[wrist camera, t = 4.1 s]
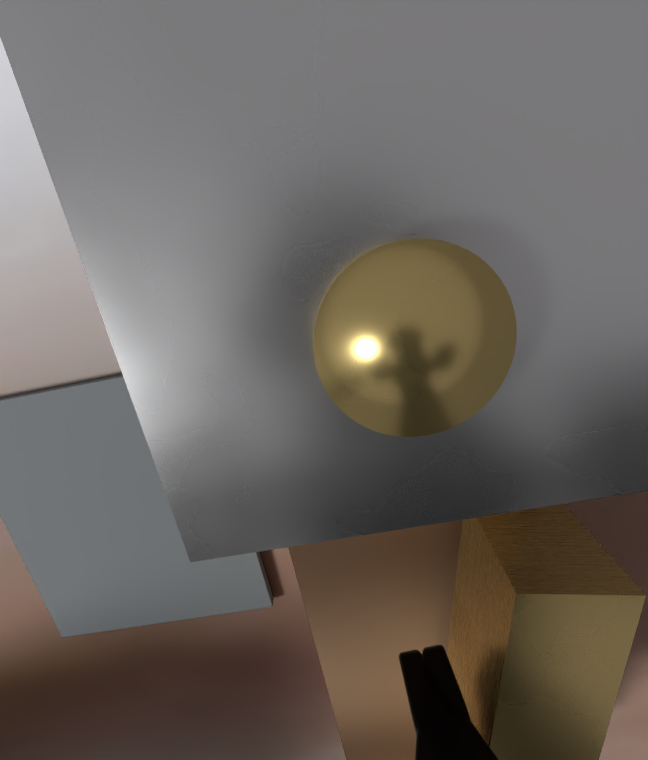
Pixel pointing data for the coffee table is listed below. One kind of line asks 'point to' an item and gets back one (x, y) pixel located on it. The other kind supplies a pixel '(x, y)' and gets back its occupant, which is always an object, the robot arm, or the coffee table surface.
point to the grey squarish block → (358, 249)
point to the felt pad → (105, 517)
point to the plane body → (377, 625)
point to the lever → (540, 633)
